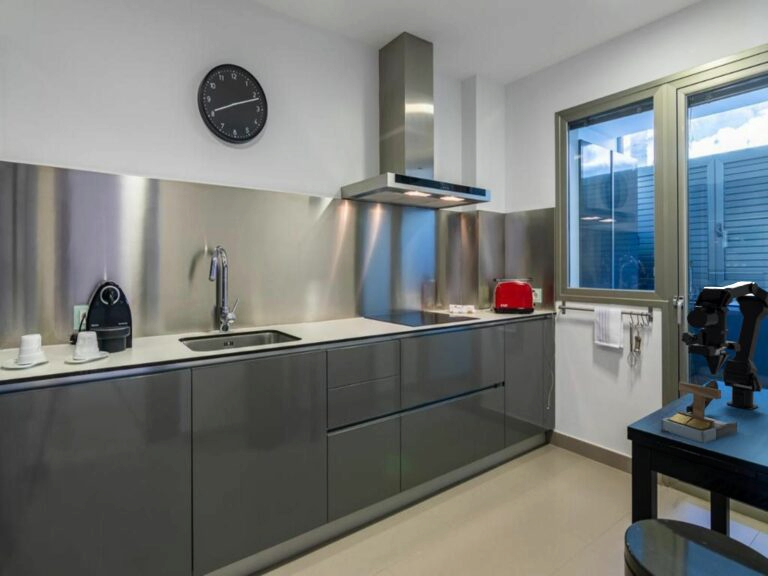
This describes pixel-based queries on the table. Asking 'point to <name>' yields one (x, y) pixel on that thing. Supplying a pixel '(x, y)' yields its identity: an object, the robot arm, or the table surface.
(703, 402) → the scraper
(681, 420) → the chip
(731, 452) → the table surface
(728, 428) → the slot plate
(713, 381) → the hand tool
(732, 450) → the table surface
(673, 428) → the tray
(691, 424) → the chip
